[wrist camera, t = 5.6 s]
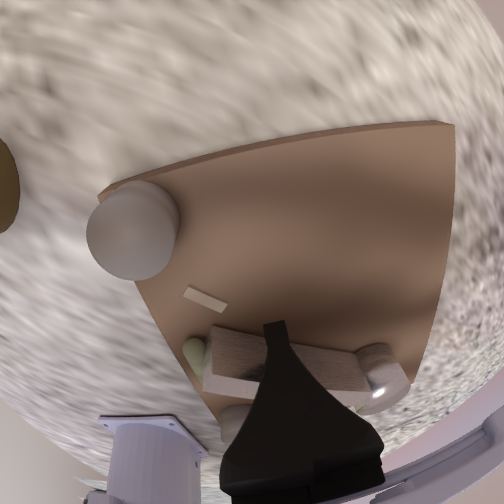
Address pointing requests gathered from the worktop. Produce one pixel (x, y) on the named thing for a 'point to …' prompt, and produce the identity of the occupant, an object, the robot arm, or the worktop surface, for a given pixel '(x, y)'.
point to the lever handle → (315, 360)
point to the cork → (8, 188)
